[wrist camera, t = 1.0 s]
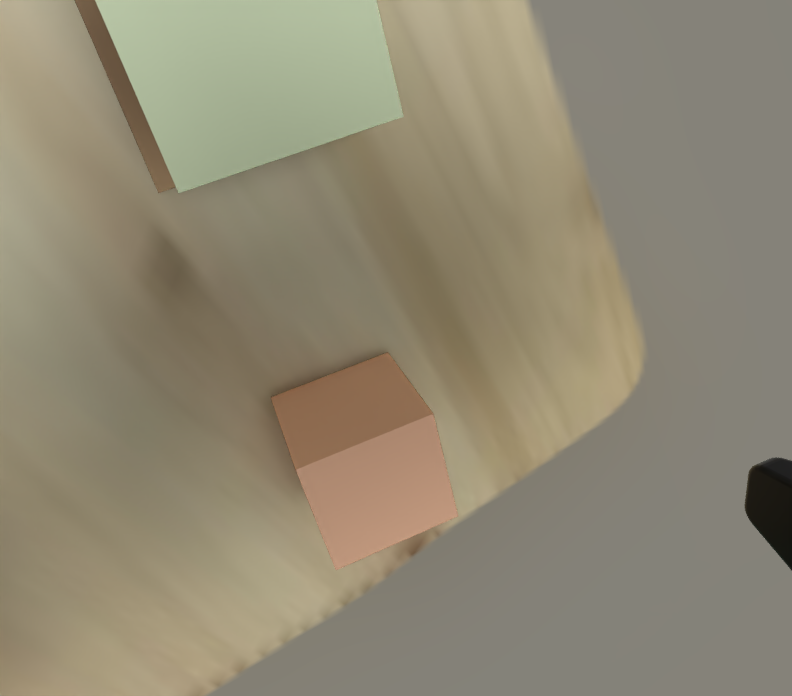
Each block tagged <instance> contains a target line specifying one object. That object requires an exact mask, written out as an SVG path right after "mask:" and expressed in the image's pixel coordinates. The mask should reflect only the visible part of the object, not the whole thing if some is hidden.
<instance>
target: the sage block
mask: <svg viewBox="0 0 792 696" xmlns="http://www.w3.org/2000/svg"><path fill="white" fill-rule="evenodd" d="M95 1H96V3H97V6H98V8H99V10H100V13H101V15H102V17H103V20H104V22H105V24H106V27H107V29H108V31H109V34H110V36H111V38H112V40H113V43H114V45H115V47H116V50H117V52H118V54H119V57H120V59H121V61H122V64H123V66H124V68H125V71H126V73H127V75H128V77H129V80H130V82H131V84H132V87H133V89H134V91H135V94H136V96H137V98H138V101H139V103H140V105H141V107H142V110H143V112H144V114H145V117H146V119H147V121H148V124H149V126H150V128H151V131H152V133H153V135H154V138H155V140H156V142H157V144H158V147H159V149H160V151H161V154H162V156H163V158H164V161H165V163H166V165H167V168H168V170H169V172H170V175H171V177H172V179H173V181H174V184H175V186H176V188H177V191H178V193H181V192H184V191H187V190H190V189H193V188H196V187H199V186H202V185H205V184H208V183H211V182H214V181H217V180H220V179H223V178H225V177H228V176H231V175H234V174H237V173H240V172H243V171H246V170H249V169H252V168H255V167H258V166H261V165H264V164H267V163H269V162H272V161H275V160H278V159H281V158H284V157H287V156H290V155H293V154H296V153H299V152H302V151H305V150H308V149H311V148H313V147H316V146H319V145H322V144H325V143H328V142H331V141H334V140H337V139H340V138H343V137H346V136H349V135H352V134H355V133H358V132H360V131H363V130H366V129H369V128H372V127H375V126H378V125H381V124H384V123H387V122H390V121H393V120H396V119H399V118H402V117H404V116H403V112H402V107H401V103H400V99H399V95H398V90H397V86H396V82H395V77H394V73H393V69H392V65H391V60H390V56H389V52H388V47H387V43H386V39H385V35H384V30H383V26H382V22H381V17H380V13H379V9H378V5H377V0H95Z"/></svg>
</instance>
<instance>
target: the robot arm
mask: <svg viewBox="0 0 792 696" xmlns="http://www.w3.org/2000/svg"><path fill="white" fill-rule="evenodd" d="M745 511H746V514H747V516H748V518H749V520H750V521H751V522H752V524H753V525H754V526H755V528H756V529H757V530H758V531H759V532H760V534H761V535H762V536H763V537H764V538H765V539H766V540H767V542H768V543H769V544H770V545H771V547H772V548H773V549H774V550H775V551H776V552H777V553H778V555H779V556H780V557H781V558H782V559H783V560H784V562H785V563H786V564H787V565H788V567H789V568H790V569H791V570H792V461H790V460H787V459H783V458H771V459H768V460H766V461H763V462H761V463H759V464H756V465H754V466H753V467H752V468H751V469H750V471H749V474H748V482H747V490H746V499H745Z"/></svg>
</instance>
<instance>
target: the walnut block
mask: <svg viewBox="0 0 792 696" xmlns="http://www.w3.org/2000/svg"><path fill="white" fill-rule="evenodd" d="M75 2H76V5H77V7H78V9H79V11H80V14H81V16H82V18H83V21H84V23H85V25H86V27H87V30H88V32H89V34H90V37H91V39H92V41H93V44H94V46H95V48H96V50H97V53H98V55H99V57H100V60H101V62H102V64H103V67H104V69H105V71H106V73H107V76H108V78H109V80H110V83H111V85H112V87H113V90H114V92H115V94H116V96H117V99H118V101H119V103H120V106H121V108H122V110H123V113H124V115H125V117H126V119H127V122H128V124H129V126H130V129H131V131H132V133H133V135H134V138H135V140H136V142H137V145H138V147H139V149H140V152H141V154H142V156H143V158H144V161H145V163H146V165H147V168H148V170H149V172H150V175H151V177H152V179H153V181H154V184H155V186H156V188H157V191H158V193H160V192H163V191H166V190H169V189H172V188H175V187H176V186H175V184H174V181H173V179H172V177H171V175H170V172H169V170H168V168H167V165H166V163H165V161H164V158H163V156H162V154H161V151H160V149H159V147H158V144H157V142H156V140H155V138H154V135H153V133H152V131H151V128H150V126H149V124H148V121H147V119H146V117H145V114H144V112H143V110H142V107H141V105H140V103H139V101H138V98H137V96H136V94H135V91H134V89H133V87H132V84H131V82H130V80H129V77H128V75H127V73H126V71H125V68H124V66H123V64H122V61H121V59H120V57H119V54H118V52H117V50H116V47H115V45H114V43H113V40H112V38H111V36H110V34H109V31H108V29H107V27H106V24H105V22H104V20H103V17H102V15H101V13H100V10H99V8H98V6H97V3H96V1H95V0H75Z"/></svg>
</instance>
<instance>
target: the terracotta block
mask: <svg viewBox="0 0 792 696" xmlns="http://www.w3.org/2000/svg"><path fill="white" fill-rule="evenodd" d="M271 399H272V402H273V405H274V408H275V411H276V414H277V417H278V420H279V423H280V426H281V429H282V432H283V435H284V438H285V441H286V444H287V446H288V449H289V452H290V455H291V458H292V461H293V464H294V467H295V470H296V472H297V475H298V477H299V480H300V482H301V485H302V487H303V490H304V492H305V495H306V497H307V500H308V502H309V505H310V507H311V510H312V512H313V515H314V517H315V520H316V522H317V525H318V527H319V530H320V532H321V534H322V537H323V539H324V542H325V544H326V547H327V549H328V552H329V554H330V557H331V559H332V562H333V564H334V567H335V569H336V570H338V569H340V568H342V567H345V566H347V565H349V564H351V563H354V562H356V561H358V560H360V559H363V558H365V557H367V556H369V555H372V554H374V553H376V552H379V551H381V550H383V549H385V548H388V547H390V546H392V545H394V544H397V543H399V542H401V541H403V540H406V539H408V538H410V537H412V536H415V535H417V534H419V533H421V532H424V531H426V530H428V529H431V528H433V527H435V526H437V525H440V524H442V523H444V522H446V521H449V520H451V519H453V518H455V517H458V513H457V509H456V505H455V501H454V496H453V492H452V488H451V484H450V480H449V476H448V472H447V468H446V464H445V460H444V456H443V451H442V447H441V443H440V439H439V435H438V431H437V427H436V423H435V419H434V415H433V413H432V411H431V410H430V409H429V407H428V406H427V405H426V403H425V402H424V400H423V399H422V398H421V396H420V395H419V394H418V392H417V391H416V390H415V388H414V387H413V386H412V384H411V383H410V382H409V380H408V379H407V377H406V376H405V375H404V373H403V372H402V371H401V369H400V368H399V367H398V365H397V364H396V363H395V361H394V360H393V359H392V357H391V356H390V355H389V353H388V352H387V353H385V354H382V355H379V356H377V357H374V358H372V359H369V360H366V361H364V362H361V363H359V364H356V365H353V366H351V367H348V368H346V369H343V370H340V371H338V372H335V373H333V374H330V375H327V376H325V377H322V378H320V379H317V380H314V381H312V382H309V383H307V384H304V385H301V386H299V387H296V388H294V389H291V390H288V391H286V392H283V393H281V394H278V395H275V396H273V397H271Z"/></svg>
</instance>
